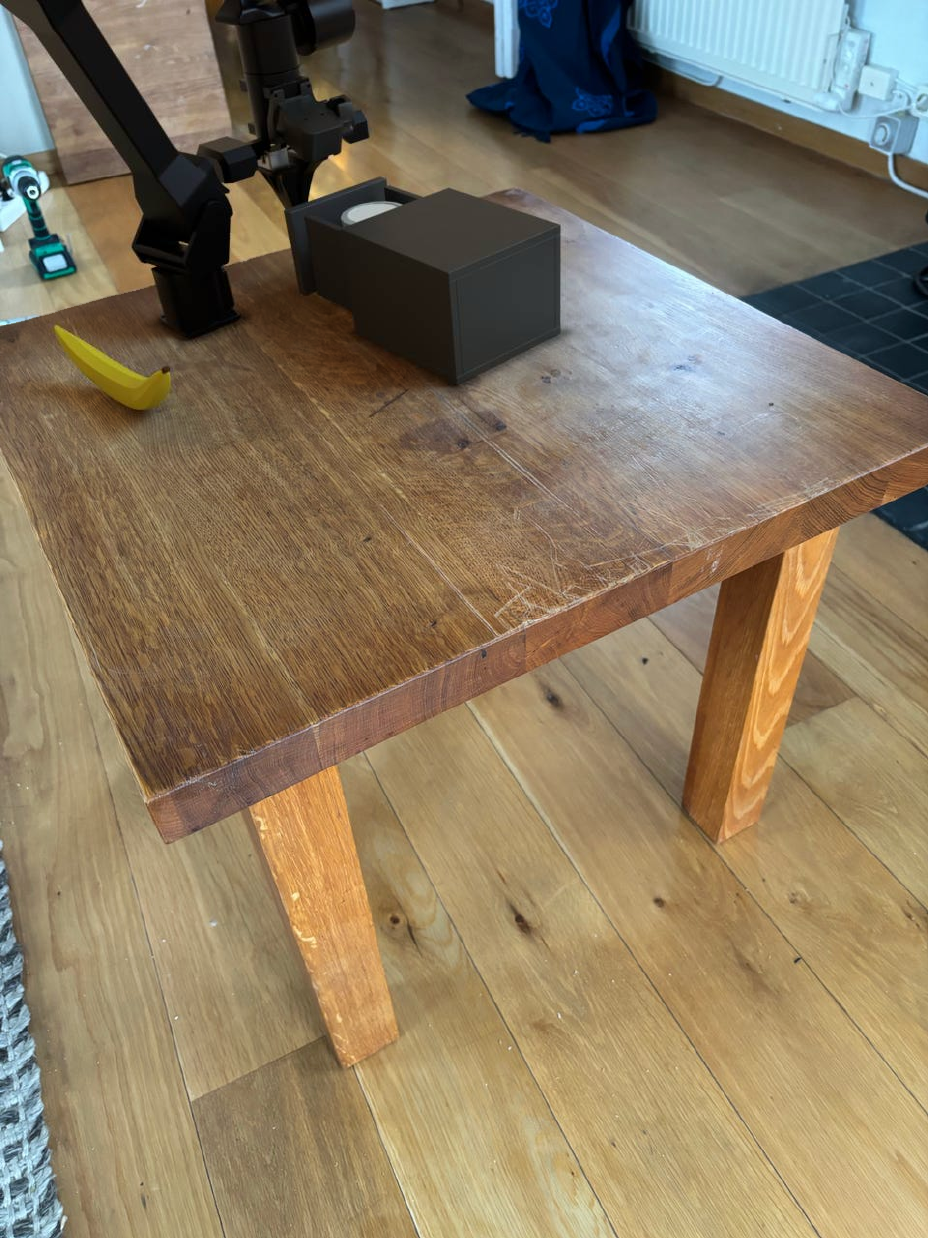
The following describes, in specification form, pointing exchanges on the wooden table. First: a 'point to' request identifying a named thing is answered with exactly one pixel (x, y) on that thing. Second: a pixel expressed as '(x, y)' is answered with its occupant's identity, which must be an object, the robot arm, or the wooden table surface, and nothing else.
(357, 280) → the cabinet
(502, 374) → the wooden table surface
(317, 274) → the drawer
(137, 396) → the banana
